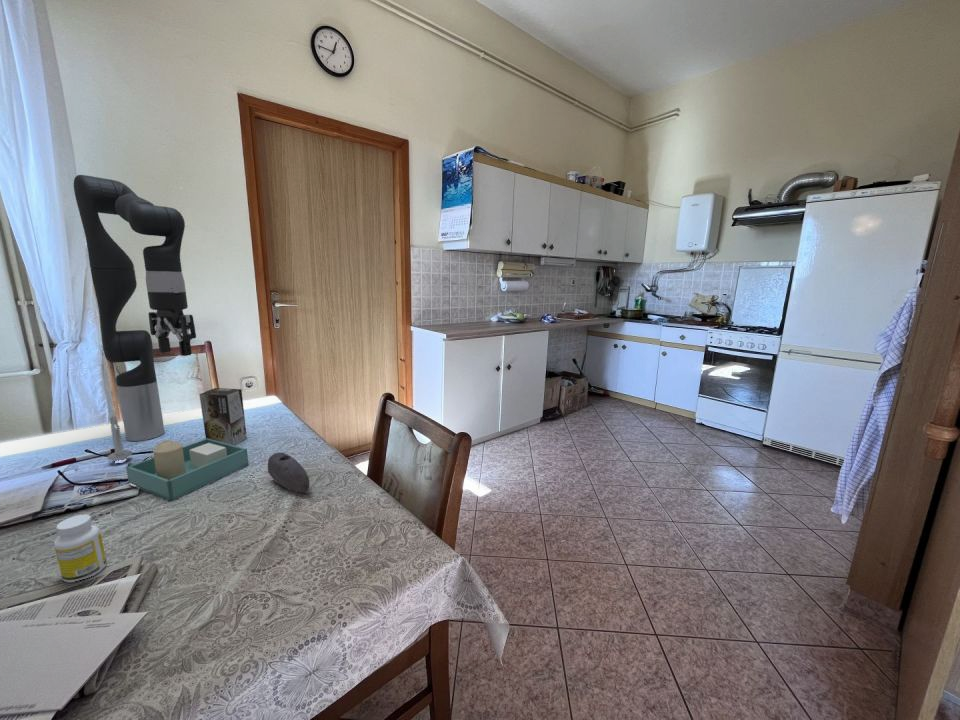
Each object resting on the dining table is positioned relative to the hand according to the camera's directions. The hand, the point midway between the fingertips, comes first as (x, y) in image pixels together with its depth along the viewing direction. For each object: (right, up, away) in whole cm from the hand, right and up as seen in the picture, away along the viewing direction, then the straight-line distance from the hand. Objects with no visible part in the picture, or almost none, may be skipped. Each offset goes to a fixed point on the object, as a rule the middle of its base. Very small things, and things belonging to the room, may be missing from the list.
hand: (175, 353), depth 100 cm
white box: (+7, -30, +3) cm, 31 cm away
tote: (+5, -31, -1) cm, 31 cm away
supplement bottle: (+11, -38, -33) cm, 52 cm away
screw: (-19, -29, +5) cm, 35 cm away
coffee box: (0, -27, +20) cm, 33 cm away
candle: (+3, -31, -5) cm, 32 cm away
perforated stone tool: (+32, -33, -5) cm, 46 cm away
